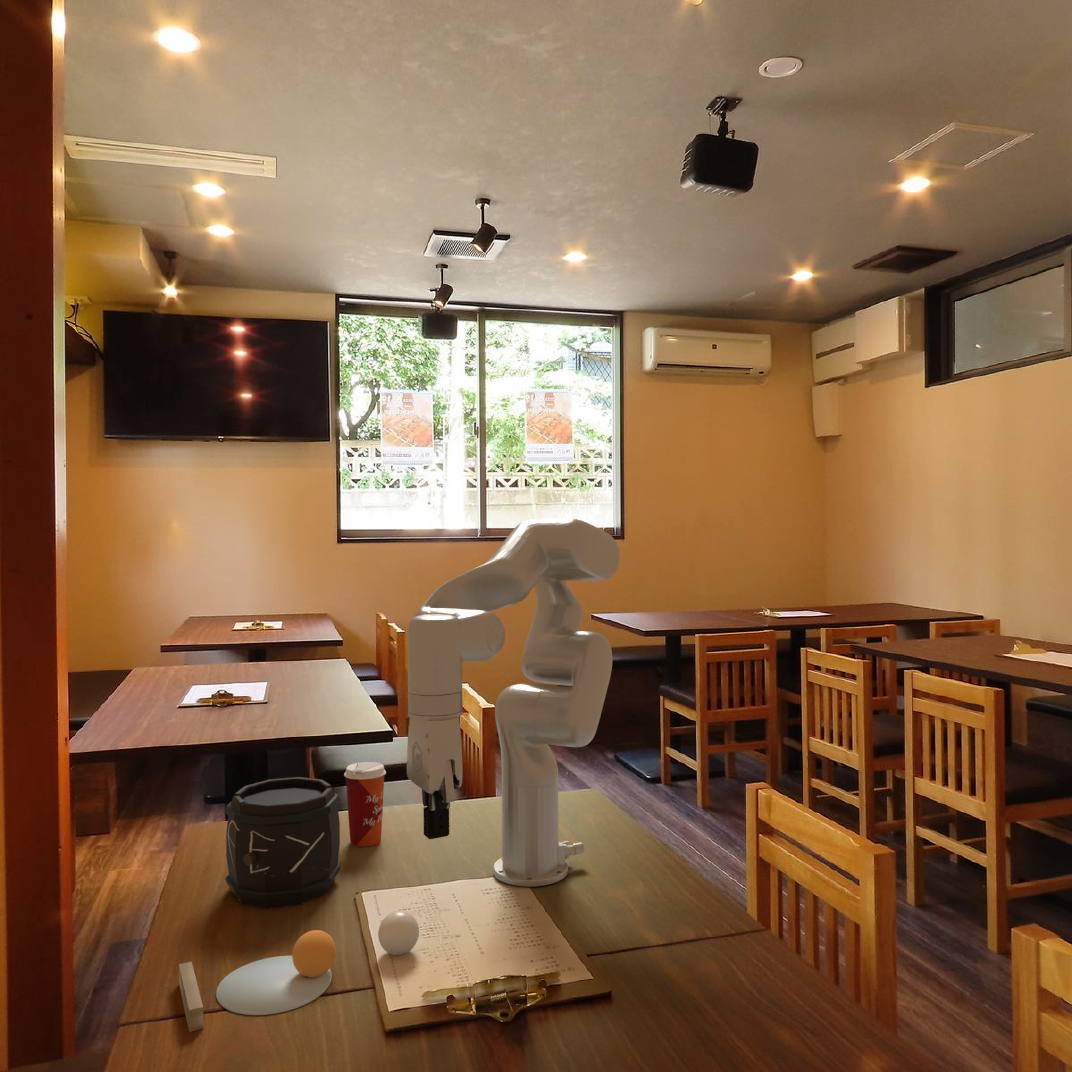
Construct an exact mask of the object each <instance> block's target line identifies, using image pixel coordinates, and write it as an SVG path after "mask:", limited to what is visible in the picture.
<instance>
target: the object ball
mask: <svg viewBox="0 0 1072 1072" xmlns="http://www.w3.org/2000/svg"><path fill="white" fill-rule="evenodd" d="M292 949H293V950H292V955H291V956H292V959H293V964H294V966H295V968H296V970H297V971H298V972H299V973H300V974H302V975H304V976H306V977H318V976H320V975H322V974H324V973H325V972H327V971H328V970H329V969H330V970H331V967H332V965H334V963H335V960H336V955H337V946H336V943H335V941H334V939H333V938H332V936H331V935H330V934H328V933H327V932H326V931H324V930H319V929H317V930H316V929H313V930H310V931H307V932H305V933H304V934H302V935H301V936H299V938H298V939H297V940H296V942H295V944H294V946H293V948H292Z"/></svg>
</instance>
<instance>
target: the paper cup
mask: <svg viewBox="0 0 1072 1072" xmlns="http://www.w3.org/2000/svg"><path fill="white" fill-rule="evenodd" d="M386 774H387V771H386V770H385V766H384V764H383V763H381V762H376V761H362V762H361V761H360V762H355V763H352V764H349V765H347V766H346V769H345V772H344V774H343V776H344V777H345V782H346V783H345V784H346V797H347V798H346V800H347V813H348V830H349V840H350V842H349V843H350V844H351V846H353V847H357V848H358V847H359V848H367V847H372V846H376V845H378V844H380V843H381V839H382V829H383V813H384V812H383V809H384V791H385V790H384V787H385V775H386Z"/></svg>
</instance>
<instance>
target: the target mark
mask: <svg viewBox="0 0 1072 1072" xmlns="http://www.w3.org/2000/svg"><path fill="white" fill-rule="evenodd" d="M332 974H333V973H332V971H331V968H330V969H329V970H328V971H327V972H325V973H324V974H322V975H320V976H318V977H306V976H304V975H302V974H300V973H299V972H298V971H297V970H296V968H295V966H294V964H293V959H292V955H279V956H272V957H266V958H261V959H258V960H254V961H252V962H250V963H249V962H248V963H247V964H245V965H243V966H240V967H239V968H236V969H235V970H233V971H231V972H230V973H228V974H227V975H226V976H225V977H224V978H223V979H222V980H221V981H220V982H219V984H218V986H217V988H216V993H215V997H216V1000H217V1003H219V1005H220V1006H221V1007H222V1008H224V1009H225V1010H227V1011H229V1012H232V1013H236V1014H240V1015H246V1016H267V1015H268V1016H269V1015H274V1014H281V1013H285V1012H289V1011H292V1010H295V1009H298V1008H301V1007H303V1006H305V1005H307V1004H309V1003H311V1002H313V1001H315V1000H316V999H317V998H319V997H320V996H322V994H324V993H325V992H326V991H327V990H328V989H329V986H331V983H332V979H333V977H332Z"/></svg>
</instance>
